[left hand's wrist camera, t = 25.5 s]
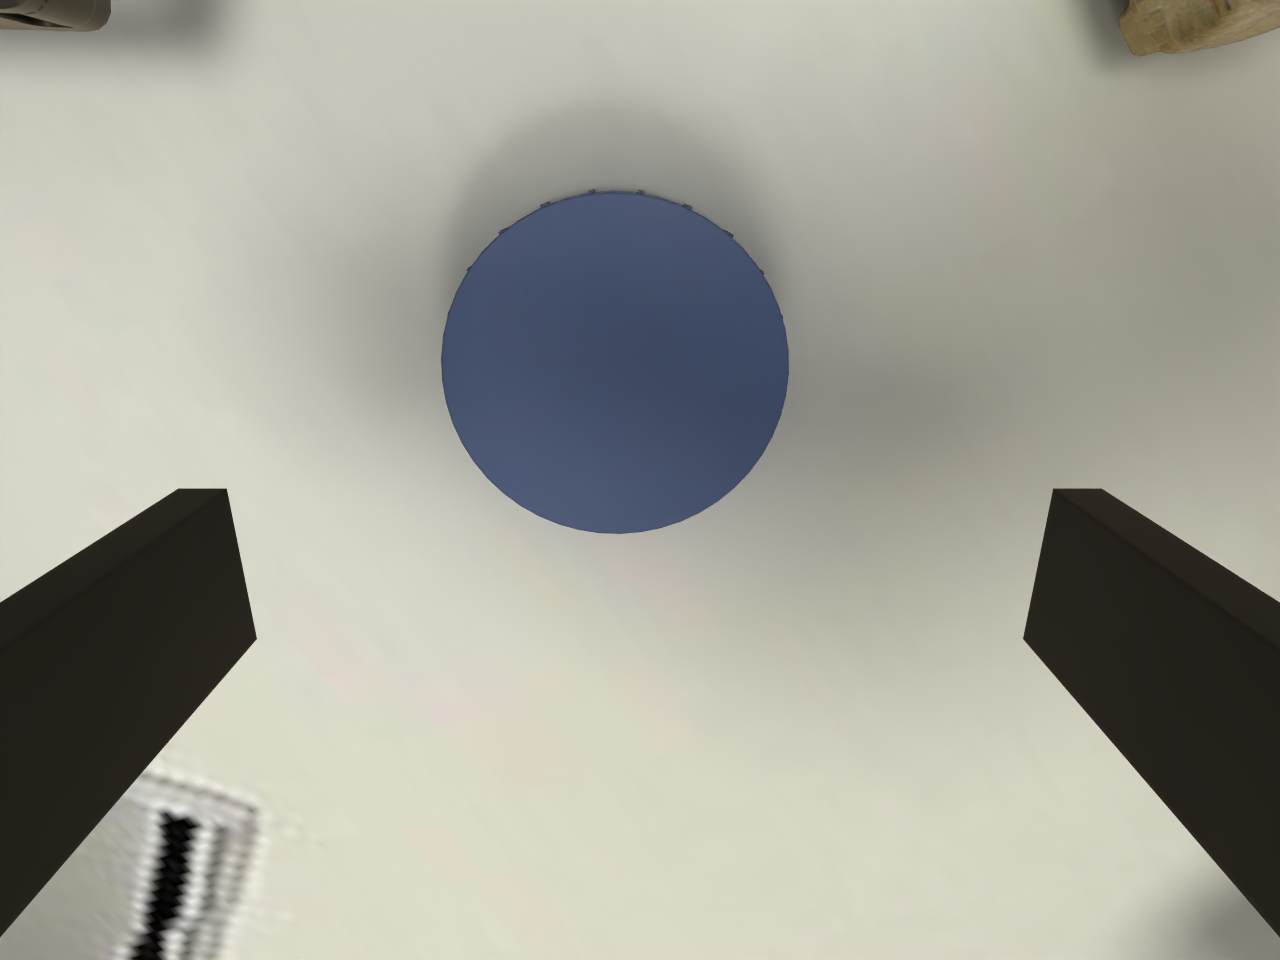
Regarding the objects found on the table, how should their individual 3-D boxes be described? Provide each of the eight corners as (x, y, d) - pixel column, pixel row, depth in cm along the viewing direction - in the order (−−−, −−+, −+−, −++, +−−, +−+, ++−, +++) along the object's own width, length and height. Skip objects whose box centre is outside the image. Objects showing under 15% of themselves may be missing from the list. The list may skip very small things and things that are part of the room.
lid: (386, 334, 24) (363, 349, 22) (642, 110, 22) (645, 103, 20) (594, 560, 28) (592, 593, 25) (837, 383, 25) (857, 402, 23)
